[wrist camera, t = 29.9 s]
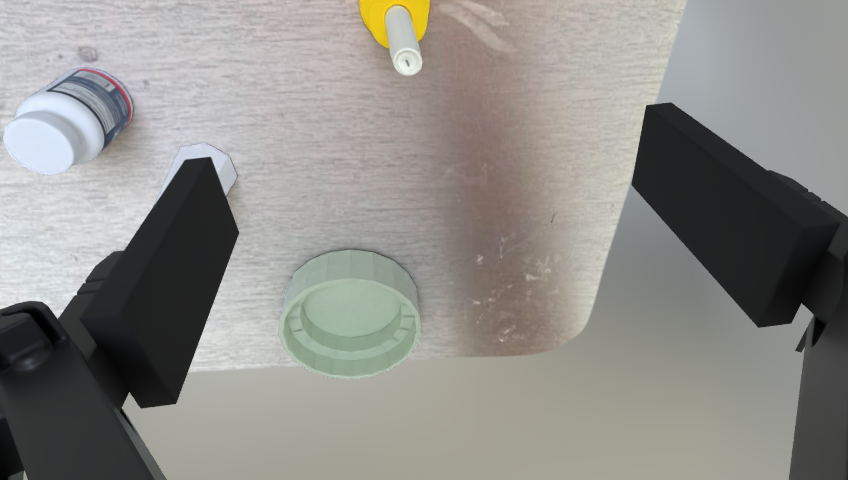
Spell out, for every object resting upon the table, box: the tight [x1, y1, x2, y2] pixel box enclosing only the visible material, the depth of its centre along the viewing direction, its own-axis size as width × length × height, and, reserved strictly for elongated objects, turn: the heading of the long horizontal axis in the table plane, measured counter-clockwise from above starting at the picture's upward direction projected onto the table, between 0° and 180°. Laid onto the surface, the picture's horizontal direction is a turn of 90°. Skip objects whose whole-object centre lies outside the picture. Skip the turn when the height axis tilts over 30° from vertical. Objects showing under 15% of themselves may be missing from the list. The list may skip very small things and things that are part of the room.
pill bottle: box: [3, 68, 133, 175], centre depth 35 cm, size 5×5×9 cm
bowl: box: [278, 249, 422, 379], centre depth 51 cm, size 14×14×5 cm
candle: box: [359, 0, 430, 76], centre depth 31 cm, size 5×5×16 cm
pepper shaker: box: [153, 143, 237, 207], centre depth 39 cm, size 5×5×11 cm
